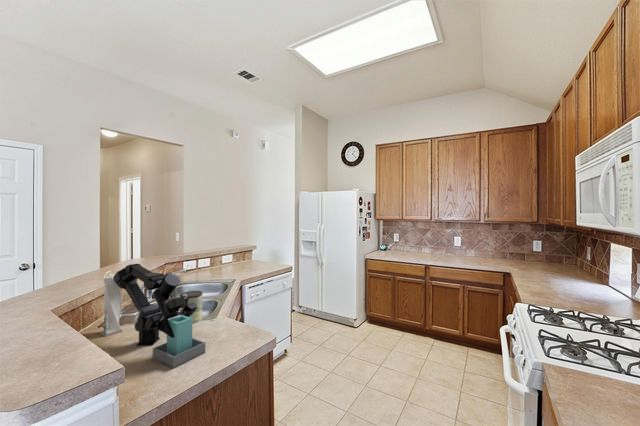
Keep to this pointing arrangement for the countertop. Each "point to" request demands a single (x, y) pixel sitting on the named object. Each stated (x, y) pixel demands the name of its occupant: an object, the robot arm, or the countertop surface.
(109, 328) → the skyscraper
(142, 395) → the countertop surface
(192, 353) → the gray square tray
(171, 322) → the teal square planter
